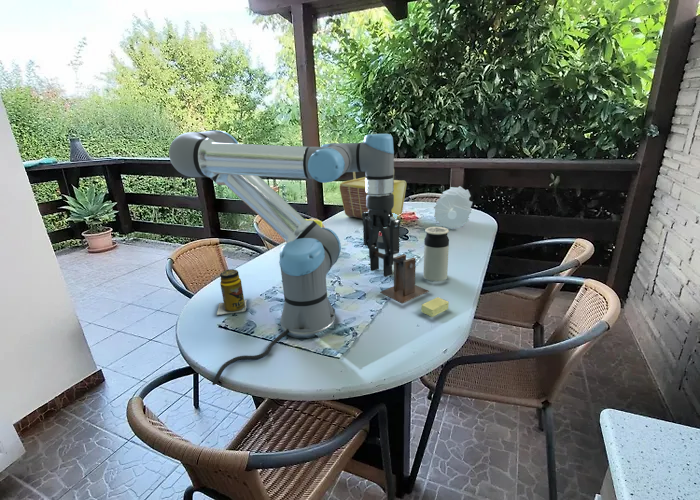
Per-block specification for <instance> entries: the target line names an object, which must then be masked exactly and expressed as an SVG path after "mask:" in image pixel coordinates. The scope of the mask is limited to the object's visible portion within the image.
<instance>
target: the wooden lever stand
mask: <svg viewBox="0 0 700 500" xmlns="http://www.w3.org/2000/svg"><path fill="white" fill-rule="evenodd" d="M394 258H395V259H398V260H400V258H403V259H406V260H405V261H403V267H401V266H399V265H398V264H399V263H397V262H394V270H393V286H391V287H388V288H385V289H384V290H381V291H379V293H380V294H382V295H384V296H386V297H388V298H390V299H392V300H394V301H396V302H398V303H400V304H402V305H403V304H405V303H407V302H409V301H411V300H413V299H415V298H417V297H420V296H422V295H424V294H427V293H429V292H430V290H428V289H426V288H424V287H421V286H419V285H416V262H417V261H416V260H417V259H416V257H411V258H408V259H407V254H405V253H403V254H400V255H398V256H397V257H394Z"/></svg>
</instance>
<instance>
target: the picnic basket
mask: <svg viewBox="0 0 700 500" xmlns="http://www.w3.org/2000/svg"><path fill="white" fill-rule="evenodd" d="M356 175H357V174H356V172H352V176H353V179H348V180H344V181H342V182H340V183H339V186H338V189H339V193H340V198H341V202H342V206H343V211H344V214H345V216H347V217H348V218H349V217H351V218H352V217H353V218H357V219H362V220H363V218H362V213H364V212H368V211H369V209H368V208H367V207H366V196H367V193H366V176H363V177H359V178H357V176H356ZM393 175H394V176H395V173H394V174H393ZM406 190H407V181H406V180H400V179H399V180H398V179H394V191H393V192H392V194H393V195H394V207H393V208H392V213H395V214H397V215H399V214H401V213H402V214H403V211H404V210H403V209H404V203H405V196H406ZM402 214H401V215H402ZM400 217H401V216H398V217H397V218H396V219H399V218H400Z"/></svg>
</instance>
